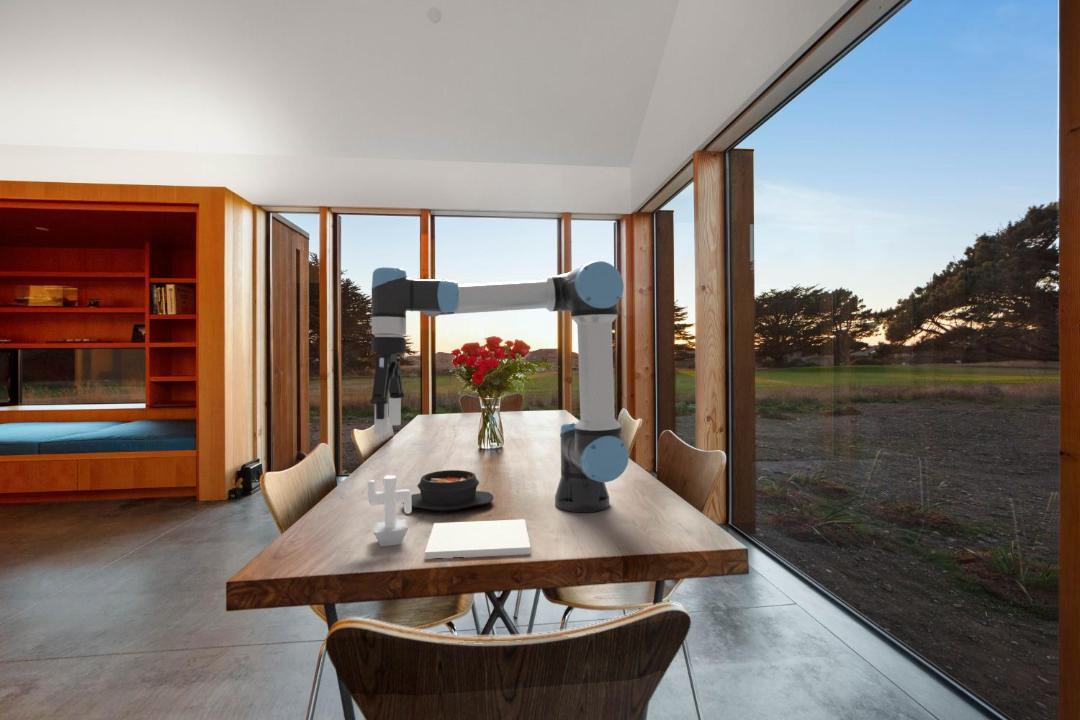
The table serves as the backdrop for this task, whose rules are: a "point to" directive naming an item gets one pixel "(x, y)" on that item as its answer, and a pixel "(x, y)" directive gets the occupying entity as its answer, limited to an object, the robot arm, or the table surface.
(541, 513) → the table surface
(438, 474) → the casserole
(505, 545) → the board
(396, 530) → the figurine
